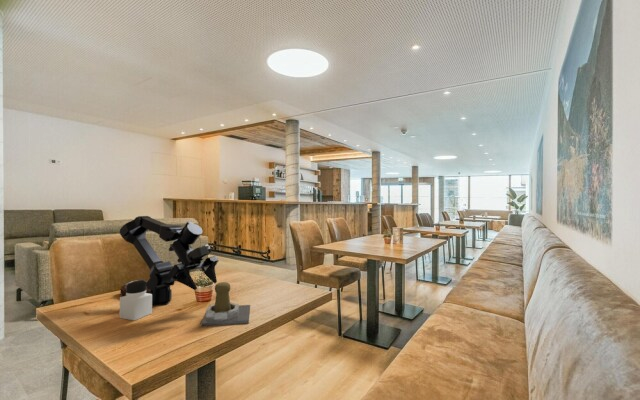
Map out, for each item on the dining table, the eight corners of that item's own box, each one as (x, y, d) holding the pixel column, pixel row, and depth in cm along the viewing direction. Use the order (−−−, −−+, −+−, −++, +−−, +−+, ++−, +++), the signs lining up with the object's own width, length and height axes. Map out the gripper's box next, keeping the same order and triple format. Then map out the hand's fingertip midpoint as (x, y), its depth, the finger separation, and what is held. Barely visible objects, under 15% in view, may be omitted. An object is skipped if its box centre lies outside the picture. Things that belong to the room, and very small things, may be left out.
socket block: (201, 326, 97) (201, 315, 97) (208, 309, 112) (208, 300, 112) (248, 323, 100) (248, 312, 100) (250, 307, 115) (250, 298, 115)
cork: (211, 313, 106) (212, 282, 106) (229, 310, 109) (229, 279, 109) (215, 319, 101) (215, 286, 101) (233, 315, 104) (233, 283, 104)
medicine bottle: (152, 313, 108) (152, 280, 108) (134, 321, 101) (134, 285, 101) (137, 311, 110) (137, 278, 110) (118, 318, 103) (119, 283, 104)
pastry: (117, 294, 130) (117, 280, 130) (147, 288, 139) (147, 275, 139) (125, 300, 123) (125, 285, 123) (156, 293, 132) (156, 279, 132)
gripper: (173, 241, 102) (196, 277, 97) (215, 235, 119) (236, 266, 114) (158, 262, 106) (179, 298, 101) (200, 253, 123) (220, 284, 118)
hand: (206, 285), depth 108 cm, fingers open, 9 cm apart
